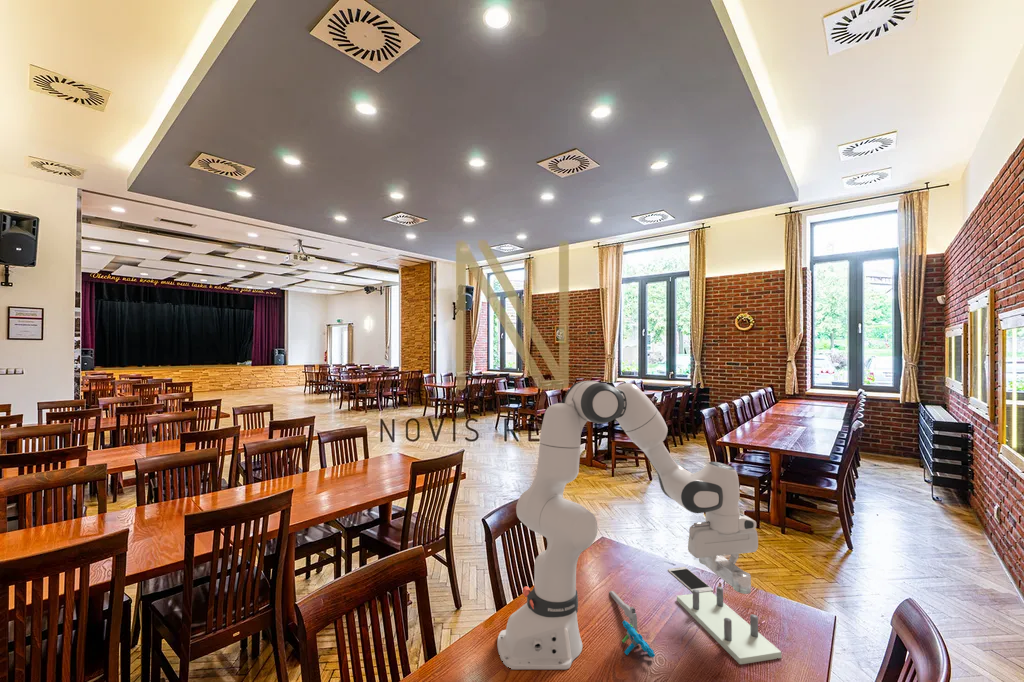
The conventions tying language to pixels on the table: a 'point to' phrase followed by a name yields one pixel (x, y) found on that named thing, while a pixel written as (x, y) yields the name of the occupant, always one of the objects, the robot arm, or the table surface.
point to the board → (739, 629)
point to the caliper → (626, 609)
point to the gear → (635, 640)
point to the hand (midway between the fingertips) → (723, 569)
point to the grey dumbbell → (730, 574)
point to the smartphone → (690, 579)
